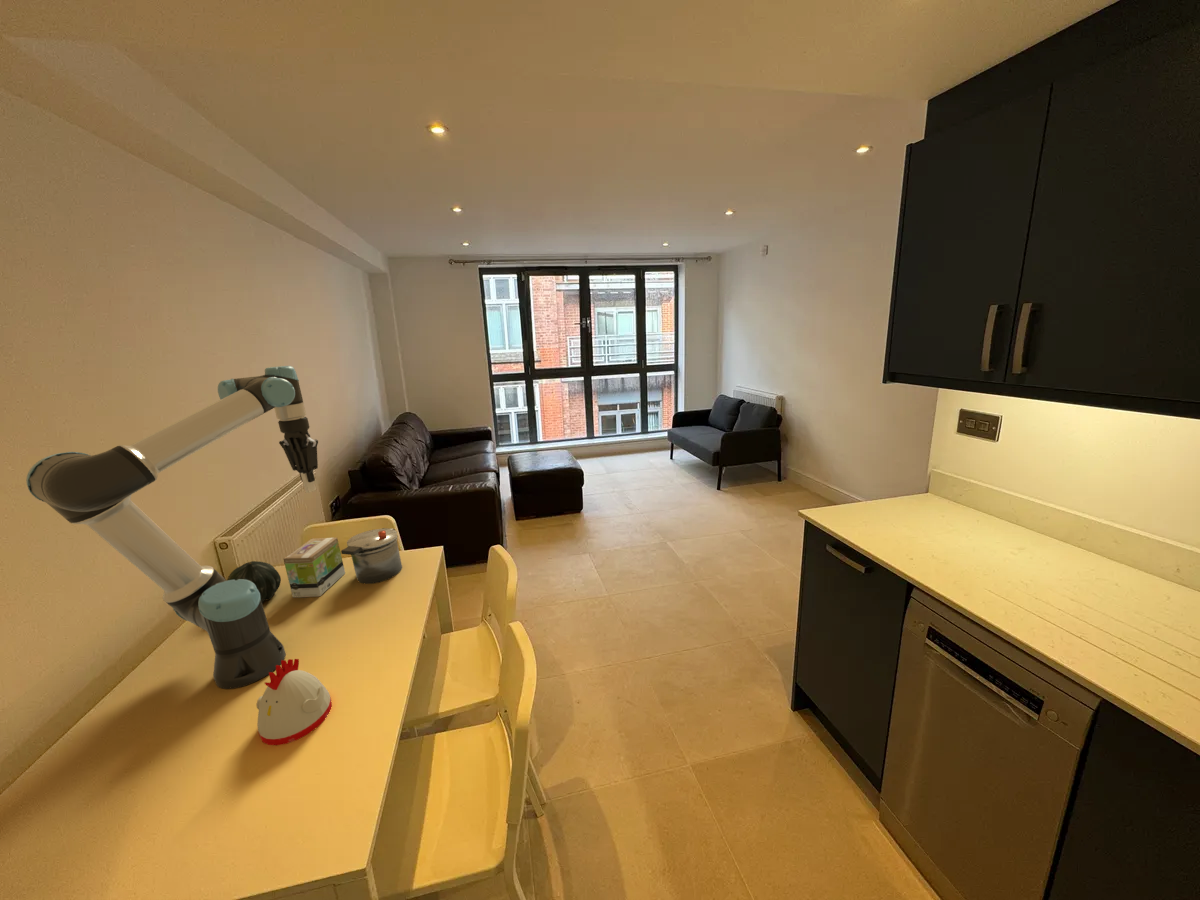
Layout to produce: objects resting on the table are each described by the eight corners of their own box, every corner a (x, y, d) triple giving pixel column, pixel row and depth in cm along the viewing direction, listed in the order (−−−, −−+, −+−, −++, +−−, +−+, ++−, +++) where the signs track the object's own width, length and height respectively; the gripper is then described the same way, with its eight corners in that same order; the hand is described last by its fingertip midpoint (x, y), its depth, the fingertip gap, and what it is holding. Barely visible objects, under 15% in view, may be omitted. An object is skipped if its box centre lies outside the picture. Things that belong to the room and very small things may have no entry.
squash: (236, 576, 159) (218, 559, 147) (286, 567, 164) (273, 550, 152) (232, 617, 152) (213, 603, 140) (285, 605, 157) (271, 591, 145)
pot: (382, 586, 156) (375, 554, 153) (345, 582, 161) (338, 551, 157) (414, 561, 172) (408, 532, 169) (380, 558, 176) (373, 529, 173)
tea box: (321, 597, 152) (311, 557, 148) (292, 598, 153) (281, 558, 149) (346, 573, 167) (337, 536, 163) (319, 574, 167) (310, 537, 163)
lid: (367, 556, 149) (365, 546, 149) (328, 552, 154) (326, 542, 153) (408, 532, 168) (406, 523, 167) (372, 529, 173) (370, 520, 172)
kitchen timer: (243, 742, 98) (223, 685, 94) (293, 692, 112) (277, 640, 107) (301, 747, 96) (283, 688, 92) (345, 696, 109) (331, 642, 105)
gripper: (319, 415, 140) (337, 487, 146) (287, 415, 143) (305, 486, 150) (298, 420, 133) (317, 496, 139) (264, 421, 137) (284, 495, 143)
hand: (311, 491), depth 145 cm, fingers closed
